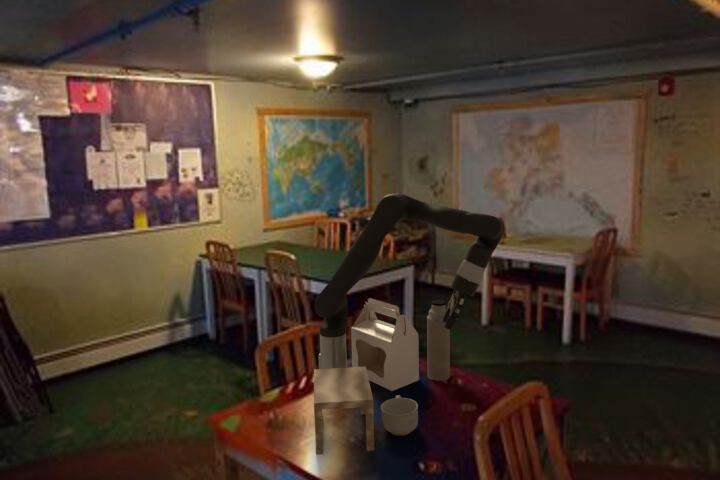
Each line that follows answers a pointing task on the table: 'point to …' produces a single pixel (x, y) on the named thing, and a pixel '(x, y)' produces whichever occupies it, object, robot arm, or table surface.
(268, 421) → the table surface
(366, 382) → the miniature side table
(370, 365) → the gable box
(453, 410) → the table surface
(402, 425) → the teacup
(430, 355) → the thermos bottle
